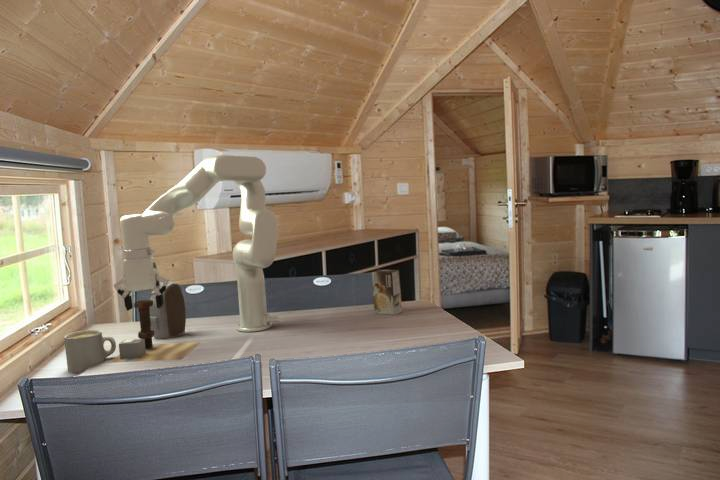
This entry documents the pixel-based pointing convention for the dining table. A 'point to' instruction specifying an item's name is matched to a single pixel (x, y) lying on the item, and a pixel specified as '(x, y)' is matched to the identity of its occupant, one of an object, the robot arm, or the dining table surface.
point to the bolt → (145, 322)
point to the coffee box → (387, 292)
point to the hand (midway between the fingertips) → (144, 308)
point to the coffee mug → (86, 349)
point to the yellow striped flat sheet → (162, 352)
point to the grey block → (132, 348)
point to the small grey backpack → (168, 313)
